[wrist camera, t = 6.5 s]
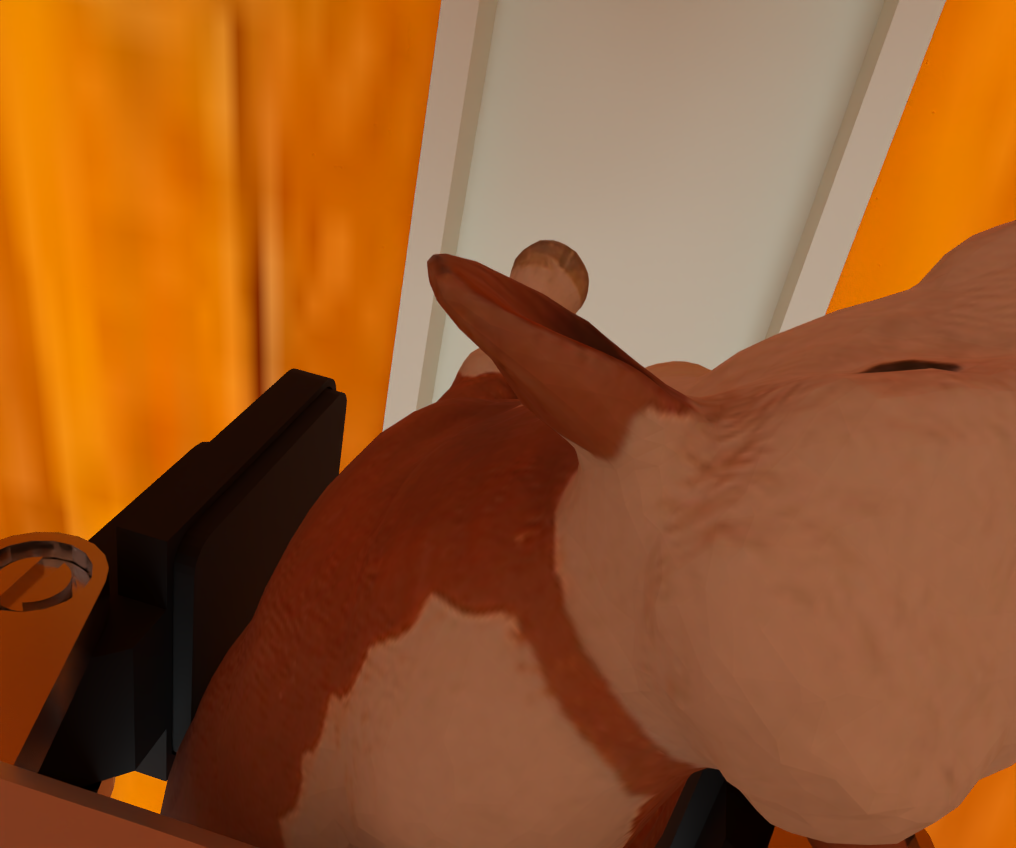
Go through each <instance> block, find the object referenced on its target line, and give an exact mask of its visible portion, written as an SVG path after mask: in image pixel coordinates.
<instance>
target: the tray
mask: <svg viewBox="0 0 1016 848" xmlns="http://www.w3.org/2000/svg"><path fill="white" fill-rule="evenodd" d="M945 1H946V0H441V8H440V15H439V22H438V30H437V37H436V44H435V52H434V59H433V66H432V74H431V81H430V88H429V95H428V103H427V110H426V117H425V125H424V132H423V139H422V147H421V154H420V161H419V169H418V176H417V183H416V191H415V198H414V205H413V213H412V220H411V227H410V234H409V242H408V249H407V256H406V264H405V271H404V278H403V286H402V293H401V300H400V308H399V315H398V322H397V330H396V337H395V344H394V352H393V359H392V366H391V373H390V381H389V388H388V395H387V403H386V410H385V417H384V425H383V431H384V430H386V429H388V428H389V427H391V426H392V425H394V424H395V423H397V422H398V421H400V420H401V419H403V418H405V417H406V416H408V415H409V414H411V413H412V412H414V411H417V410H419V409H421V408H424V407H426V406H428V405H431V404H433V403H436V402H437V401H438V400H439V399H440V398H441V396H442V395H443V394H444V393H445V392H446V391H447V390H448V389H449V388H450V387H451V385H452V383H453V381H454V380H455V377H456V375H457V373H458V371H459V369H460V367H461V365H462V364H463V362H464V360H465V359H466V358H467V357H468V356H469V354H470V353H471V352H473V351H475V350H476V349H478V348H479V347H478V346H477V345H476V344H475V343H474V342H473V341H472V340H470V339H469V338H468V337H467V336H466V335H465V334H464V333H463V332H462V331H461V330H460V329H459V328H458V327H457V326H456V324H455V323H454V322H453V321H452V319H451V318H450V317H449V315H448V314H447V313H446V312H445V310H444V309H443V308H442V307H441V305H440V304H439V303H438V302H437V300H436V297H435V295H434V293H433V290H432V288H431V285H430V283H429V278H428V269H427V261H428V260H429V258H430V257H431V256H432V255H433V254H445V253H446V254H450V255H454V256H458V257H462V258H465V259H469V260H473V261H477V262H479V263H481V264H483V265H485V266H487V267H489V268H491V269H493V270H495V271H497V272H499V273H501V274H503V275H506V276H508V277H510V274H511V270H512V267H513V264H514V261H515V259H516V257H517V256H518V255H519V254H520V253H521V252H522V251H523V250H524V249H525V248H527V247H528V246H530V245H532V244H534V243H536V242H538V241H540V240H555V241H558V242H561V243H563V244H565V245H567V246H568V247H570V248H571V249H573V250H574V251H576V252H577V254H578V255H579V257H580V258H581V260H582V262H583V263H584V265H585V267H586V269H587V272H588V276H589V287H588V293H587V297H586V300H585V302H584V304H583V306H582V307H581V308H580V309H579V310H578V312H577V313H576V315H578V316H580V317H581V318H583V319H585V320H587V321H589V322H590V323H591V324H592V325H593V326H594V327H595V328H597V329H598V330H599V331H600V332H601V333H602V334H604V335H605V336H606V337H607V338H608V339H610V340H611V341H612V342H613V343H614V344H616V345H617V346H618V347H619V348H621V349H622V350H623V351H624V352H626V353H627V354H628V355H629V356H630V357H632V358H633V359H634V360H635V361H637V362H638V363H639V364H640V365H642V366H643V367H644V368H645V367H648V366H651V365H654V364H658V363H664V362H671V361H686V362H690V363H695V364H699V365H701V366H703V367H705V368H707V369H709V370H713V369H714V368H716V367H717V366H719V365H720V364H721V363H723V362H724V361H726V360H727V359H729V358H730V357H732V356H733V355H735V354H736V353H738V352H739V351H741V350H744V349H746V348H748V347H750V346H752V345H754V344H756V343H758V342H760V341H763V340H765V339H767V338H769V337H771V336H773V335H776V334H779V333H781V332H784V331H786V330H789V329H791V328H794V327H796V326H799V325H802V324H804V323H807V322H809V321H812V320H814V319H817V318H819V317H822V316H825V313H826V311H827V308H828V305H829V303H830V300H831V298H832V295H833V292H834V290H835V287H836V285H837V282H838V279H839V277H840V274H841V272H842V269H843V266H844V264H845V261H846V259H847V256H848V253H849V251H850V248H851V246H852V243H853V240H854V238H855V235H856V233H857V230H858V227H859V225H860V222H861V220H862V217H863V214H864V212H865V209H866V207H867V204H868V201H869V199H870V196H871V194H872V191H873V188H874V186H875V183H876V181H877V178H878V175H879V173H880V170H881V168H882V165H883V162H884V160H885V157H886V155H887V152H888V149H889V147H890V144H891V142H892V139H893V136H894V134H895V131H896V129H897V126H898V123H899V121H900V118H901V116H902V113H903V110H904V108H905V105H906V103H907V100H908V97H909V95H910V92H911V90H912V87H913V84H914V82H915V79H916V77H917V74H918V71H919V69H920V66H921V64H922V61H923V58H924V56H925V53H926V51H927V48H928V45H929V43H930V40H931V38H932V35H933V32H934V30H935V27H936V25H937V22H938V19H939V17H940V14H941V12H942V9H943V6H944V4H945Z"/></svg>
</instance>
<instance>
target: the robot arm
mask: <svg viewBox="0 0 1016 848" xmlns="http://www.w3.org/2000/svg"><path fill="white" fill-rule="evenodd" d="M346 404H347V399H346V395H345V393H342V392H338V391H336V385H335V381H334V380H333V379H331V378H327V377H324V376H320V375H316V374H313V373H309V372H306V371H302V370H298V369H294V368H293V369H291V370H289V371H288V372H287V373H286V374H285V375H284V376H282V377H281V378H280V379H279V380H278V381H277V382H276V383H275V384H274V385H272V386H271V387H270V388H269V389H268V390H267V391H266V392H265V393H264V394H262V395H261V396H260V397H259V398H258V399H257V400H256V401H255V402H254V403H252V404H251V405H250V406H249V407H248V408H247V409H246V410H245V411H244V412H242V413H241V414H240V415H239V416H238V417H237V418H236V419H235V420H234V421H232V422H231V423H230V424H229V425H228V426H227V427H226V428H225V429H224V430H222V431H221V432H220V433H219V434H218V435H217V436H216V437H215V438H214V439H212V440H211V441H210V442H201V443H200V444H198V445H197V446H195V447H194V448H192V449H191V450H190V451H189V452H188V453H187V454H186V455H184V456H183V457H182V458H181V459H180V460H179V461H178V462H177V463H175V464H174V465H173V466H172V467H171V468H170V469H169V470H167V471H166V472H165V473H164V474H163V475H162V476H161V477H160V478H158V479H157V480H156V481H155V482H154V483H153V484H152V485H151V486H149V487H148V488H147V489H146V490H145V491H144V492H143V493H141V494H140V495H139V496H138V497H137V498H136V499H135V500H134V501H132V502H131V503H130V504H129V505H128V506H127V507H126V508H124V509H123V510H122V511H121V512H120V513H119V514H118V515H117V516H115V517H114V518H113V519H112V520H111V521H110V522H109V523H108V524H106V525H105V526H104V527H103V528H102V529H101V530H100V531H98V532H97V533H96V534H95V535H94V536H93V537H92V538H91V539H89V540H88V541H87V540H85V539H83V538H80V537H78V536H73V535H69V534H64V533H59V532H33V533H26V534H20V535H13V536H10V537H7V538H4V539H1V540H0V848H258V847H255V846H252V845H249V844H246V843H243V842H241V841H238V840H235V839H232V838H229V837H226V836H223V835H220V834H217V833H214V832H211V831H208V830H205V829H202V828H199V827H196V826H193V825H190V824H188V823H185V822H182V821H179V820H176V819H173V818H170V817H167V816H164V815H161V814H158V813H155V812H152V811H149V810H146V809H143V808H140V807H137V806H134V805H131V804H128V803H125V802H122V801H119V800H116V799H113V798H110V796H111V794H112V791H113V788H114V783H115V777H116V776H119V775H122V774H126V773H129V772H132V771H137V772H140V773H143V774H146V775H149V776H152V777H155V778H158V779H161V780H164V781H167V780H168V777H169V774H170V771H171V768H172V765H173V762H174V759H175V757H176V754H177V751H178V748H179V746H180V744H181V742H182V740H183V738H184V736H185V734H186V732H187V730H188V728H189V726H190V724H191V722H192V721H193V719H194V717H195V714H196V711H197V709H198V706H199V704H200V701H201V699H202V697H203V695H204V693H205V691H206V689H207V687H208V684H209V682H210V680H211V678H212V676H213V675H214V673H215V671H216V670H217V668H218V667H219V665H220V663H221V662H222V660H223V658H224V657H225V655H226V653H227V652H228V650H229V649H230V647H231V646H232V645H233V644H234V642H235V641H236V640H237V638H238V637H239V636H240V634H241V633H242V632H243V631H244V629H245V628H246V627H247V625H248V624H249V623H250V621H251V620H252V618H253V616H254V614H255V611H256V609H257V606H258V604H259V602H260V599H261V597H262V595H263V592H264V590H265V587H266V585H267V584H268V582H269V580H270V578H271V576H272V574H273V572H274V570H275V568H276V567H277V565H278V563H279V561H280V559H281V557H282V555H283V553H284V551H285V550H286V548H287V546H288V544H289V542H290V540H291V539H292V537H293V536H294V534H295V532H296V531H297V529H298V528H299V526H300V524H301V523H302V521H303V520H304V518H305V516H306V515H307V513H308V512H309V510H310V509H311V507H312V506H313V505H314V503H315V502H316V501H317V499H318V498H319V497H320V495H321V494H322V493H323V491H324V490H325V489H326V487H327V486H328V485H329V484H330V483H331V482H332V481H333V480H334V479H335V478H336V477H337V476H338V475H339V467H340V458H341V449H342V441H343V432H344V423H345V414H346ZM905 841H906V844H907V847H908V848H935V847H934V845H933V843H932V840H931V838H930V836H929V834H928V833H927V832H926V830H925V829H922V830H920V831H919V832H917V833H915V834H913V835H911V836H910V837H908V838H906V839H905ZM654 848H813V847H812V846H811V844H810V843H809V841H808V839H807V837H804V836H801V835H797V834H793V833H790V832H788V831H786V830H783V829H781V828H779V827H777V826H774V825H772V824H770V823H769V822H768V821H767V820H766V819H765V818H764V817H763V816H762V815H761V814H760V813H759V812H758V811H757V810H756V809H755V808H754V807H753V805H752V804H751V803H750V802H749V801H748V800H747V798H746V797H745V796H744V795H743V794H742V792H741V791H740V790H739V789H737V788H736V787H734V786H733V785H732V784H730V783H729V782H727V781H726V779H725V778H724V776H723V775H722V773H721V772H720V770H718V769H713V768H706V769H703V770H700V771H697V772H694V773H693V774H691V775H690V776H689V778H688V779H687V781H686V784H685V786H684V788H683V790H682V792H681V795H680V797H679V799H678V801H677V804H676V806H675V808H674V810H673V812H672V815H671V817H670V819H669V821H668V824H667V826H666V828H665V830H664V832H663V835H662V836H661V838H660V839H659V841H658V843H657V844H656V846H655V847H654Z"/></svg>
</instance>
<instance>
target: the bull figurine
mask: <svg viewBox="0 0 1016 848" xmlns="http://www.w3.org/2000/svg"><path fill="white" fill-rule="evenodd" d="M427 269H428V278H429V283H430V285H431V288H432V290H433V293H434V295H435V297H436V300H437V302H438V303H439V304H440V305H441V307H442V308H443V309H444V310H445V312H446V313H447V314H448V315H449V317H450V318H451V319H452V321H453V322H454V323H455V324H456V326H457V327H458V328H459V329H460V330H461V331H462V332H463V333H464V334H465V335H466V336H467V337H468V338H469V339H470V340H472V341H473V342H474V343H475V344H476V345H477V346H478V347H479V348H478V349H476V350H475V351H473V352H471V353H470V354H469V356H468V357H467V358H466V359H465V360H464V362H463V364H462V365H461V367H460V369H459V371H458V373H457V375H456V377H455V380H454V381H453V383H452V385H451V387H450V388H449V389H448V390H447V391H446V392H445V393H444V394H443V395H442V396H441V398H440V399H439V400H438V401H437V402H436V403H433V404H431V405H428V406H426V407H424V408H421V409H419V410H417V411H414V412H412V413H411V414H409V415H408V416H406V417H405V418H403V419H401V420H400V421H398V422H397V423H395V424H394V425H392V426H391V427H389V428H388V429H386V430H384V431H383V432H381V433H380V434H379V435H378V436H377V437H376V438H375V439H374V440H373V441H372V442H371V443H370V444H369V445H368V446H367V447H366V448H365V449H364V450H363V451H362V452H361V453H360V454H359V455H358V456H357V457H356V458H355V459H354V460H353V461H352V462H351V463H350V464H349V465H348V466H347V467H346V468H345V469H344V470H343V471H342V472H341V473H340V474H339V475H338V476H337V477H336V478H335V479H334V480H333V481H332V482H331V483H330V484H329V485H328V486H327V487H326V489H325V490H324V491H323V493H322V494H321V495H320V497H319V498H318V499H317V501H316V502H315V503H314V505H313V506H312V507H311V509H310V510H309V512H308V513H307V515H306V516H305V518H304V520H303V521H302V523H301V524H300V526H299V528H298V529H297V531H296V532H295V534H294V536H293V537H292V539H291V540H290V542H289V544H288V546H287V548H286V550H285V551H284V553H283V555H282V557H281V559H280V561H279V563H278V565H277V567H276V568H275V570H274V572H273V574H272V576H271V578H270V580H269V582H268V584H267V585H266V587H265V590H264V592H263V595H262V597H261V599H260V602H259V604H258V606H257V609H256V611H255V614H254V616H253V618H252V620H251V621H250V623H249V624H248V625H247V627H246V628H245V629H244V631H243V632H242V633H241V634H240V636H239V637H238V638H237V640H236V641H235V642H234V644H233V645H232V646H231V647H230V649H229V650H228V652H227V653H226V655H225V657H224V658H223V660H222V662H221V663H220V665H219V667H218V668H217V670H216V671H215V673H214V675H213V676H212V678H211V680H210V682H209V684H208V687H207V689H206V691H205V693H204V695H203V697H202V699H201V701H200V704H199V706H198V709H197V711H196V714H195V717H194V719H193V721H192V722H191V724H190V726H189V728H188V730H187V732H186V734H185V736H184V738H183V740H182V742H181V744H180V746H179V748H178V751H177V754H176V757H175V759H174V762H173V765H172V768H171V771H170V774H169V777H168V781H167V786H166V790H165V795H164V800H163V804H162V809H161V813H160V814H161V815H164V816H167V817H170V818H173V819H176V820H179V821H182V822H185V823H188V824H190V825H193V826H196V827H199V828H202V829H205V830H208V831H211V832H214V833H217V834H220V835H223V836H226V837H229V838H232V839H235V840H238V841H241V842H243V843H246V844H249V845H252V846H255V847H258V848H654V847H655V846H656V844H657V843H658V841H659V839H660V838H661V836H662V835H663V832H664V830H665V828H666V826H667V824H668V821H669V819H670V817H671V815H672V812H673V810H674V808H675V806H676V804H677V801H678V799H679V797H680V795H681V792H682V790H683V788H684V786H685V784H686V781H687V779H688V778H689V776H690V775H691V774H693V773H694V772H697V771H700V770H703V769H706V768H713V769H718V770H720V772H721V773H722V775H723V776H724V778H725V779H726V781H727V782H729V783H730V784H732V785H733V786H734V787H736V788H737V789H739V790H740V791H741V792H742V794H743V795H744V796H745V797H746V798H747V800H748V801H749V802H750V803H751V804H752V805H753V807H754V808H755V809H756V810H757V811H758V812H759V813H760V814H761V815H762V816H763V817H764V818H765V819H766V820H767V821H768V822H769V823H770V824H772V825H774V826H777V827H779V828H781V829H783V830H786V831H788V832H790V833H793V834H797V835H801V836H804V837H807V839H808V841H809V843H810V844H811V846H812V847H813V848H908V847H907V844H906V841H905V839H906V838H908V837H910V836H911V835H913V834H915V833H917V832H919V831H920V830H922V829H924V828H926V827H927V826H929V825H931V824H933V823H935V822H936V821H938V820H939V819H941V818H942V817H944V816H945V815H946V814H948V813H949V812H951V811H952V810H954V809H955V808H957V807H958V806H959V805H960V804H961V802H962V801H963V800H964V799H965V797H966V796H967V795H968V793H969V792H970V791H971V789H972V788H973V787H974V785H975V784H976V783H977V781H978V780H980V779H982V778H984V777H987V776H989V775H991V774H993V773H996V772H998V771H1000V770H1003V769H1005V768H1007V767H1009V766H1011V765H1013V764H1014V763H1015V762H1016V220H1015V221H1012V222H1009V223H1005V224H1002V225H999V226H996V227H994V228H991V229H988V230H986V231H983V232H981V233H978V234H975V235H973V236H971V237H970V238H968V239H967V240H965V241H964V242H963V243H961V244H960V245H958V246H957V247H955V248H954V249H952V250H951V251H950V252H948V253H947V254H945V255H944V256H943V257H942V259H941V260H940V261H939V262H938V263H937V264H936V265H935V266H934V267H933V268H932V269H931V271H930V272H929V273H928V274H927V275H926V276H925V277H924V278H923V279H922V280H921V282H920V283H919V284H917V285H916V286H914V287H912V288H911V289H909V290H906V291H903V292H900V293H896V294H893V295H890V296H887V297H883V298H880V299H877V300H873V301H870V302H866V303H863V304H859V305H855V306H852V307H848V308H844V309H841V310H837V311H835V312H832V313H830V314H827V315H825V316H822V317H819V318H817V319H814V320H812V321H809V322H807V323H804V324H802V325H799V326H796V327H794V328H791V329H789V330H786V331H784V332H781V333H779V334H776V335H773V336H771V337H769V338H767V339H765V340H763V341H760V342H758V343H756V344H754V345H752V346H750V347H748V348H746V349H744V350H741V351H739V352H738V353H736V354H735V355H733V356H732V357H730V358H729V359H727V360H726V361H724V362H723V363H721V364H720V365H719V366H717V367H716V368H714V369H713V370H709V369H707V368H705V367H703V366H701V365H699V364H695V363H690V362H686V361H671V362H664V363H658V364H654V365H651V366H648V367H645V368H644V367H643V366H642V365H640V364H639V363H638V362H637V361H635V360H634V359H633V358H632V357H630V356H629V355H628V354H627V353H626V352H624V351H623V350H622V349H621V348H619V347H618V346H617V345H616V344H614V343H613V342H612V341H611V340H610V339H608V338H607V337H606V336H605V335H604V334H602V333H601V332H600V331H599V330H598V329H597V328H595V327H594V326H593V325H592V324H591V323H590V322H589V321H587V320H585V319H583V318H581V317H580V316H578V315H576V313H577V312H578V310H579V309H580V308H581V307H582V306H583V304H584V302H585V300H586V297H587V293H588V287H589V276H588V272H587V269H586V267H585V265H584V263H583V262H582V260H581V258H580V257H579V255H578V254H577V252H576V251H574V250H573V249H571V248H570V247H568V246H567V245H565V244H563V243H561V242H558V241H555V240H540V241H538V242H536V243H534V244H532V245H530V246H528V247H527V248H525V249H524V250H523V251H522V252H521V253H520V254H519V255H518V256H517V257H516V259H515V261H514V264H513V267H512V270H511V274H510V277H508V276H506V275H503V274H501V273H499V272H497V271H495V270H493V269H491V268H489V267H487V266H485V265H483V264H481V263H479V262H477V261H473V260H469V259H465V258H462V257H458V256H454V255H450V254H446V253H445V254H433V255H432V256H431V257H430V258H429V260H428V261H427Z"/></svg>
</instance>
